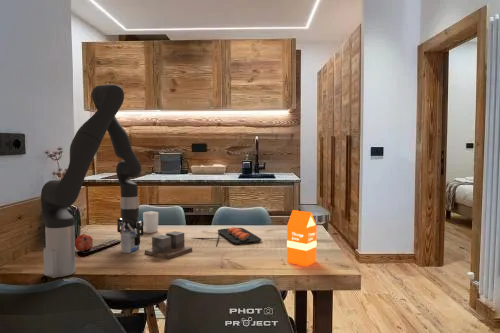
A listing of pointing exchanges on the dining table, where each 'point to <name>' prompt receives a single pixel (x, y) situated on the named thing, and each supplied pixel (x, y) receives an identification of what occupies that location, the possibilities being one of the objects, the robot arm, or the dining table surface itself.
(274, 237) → the dining table surface
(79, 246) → the red tomato
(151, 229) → the white cup
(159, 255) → the display stand
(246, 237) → the sushi plate
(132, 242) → the medicine box
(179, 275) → the dining table surface
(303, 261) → the orange juice
